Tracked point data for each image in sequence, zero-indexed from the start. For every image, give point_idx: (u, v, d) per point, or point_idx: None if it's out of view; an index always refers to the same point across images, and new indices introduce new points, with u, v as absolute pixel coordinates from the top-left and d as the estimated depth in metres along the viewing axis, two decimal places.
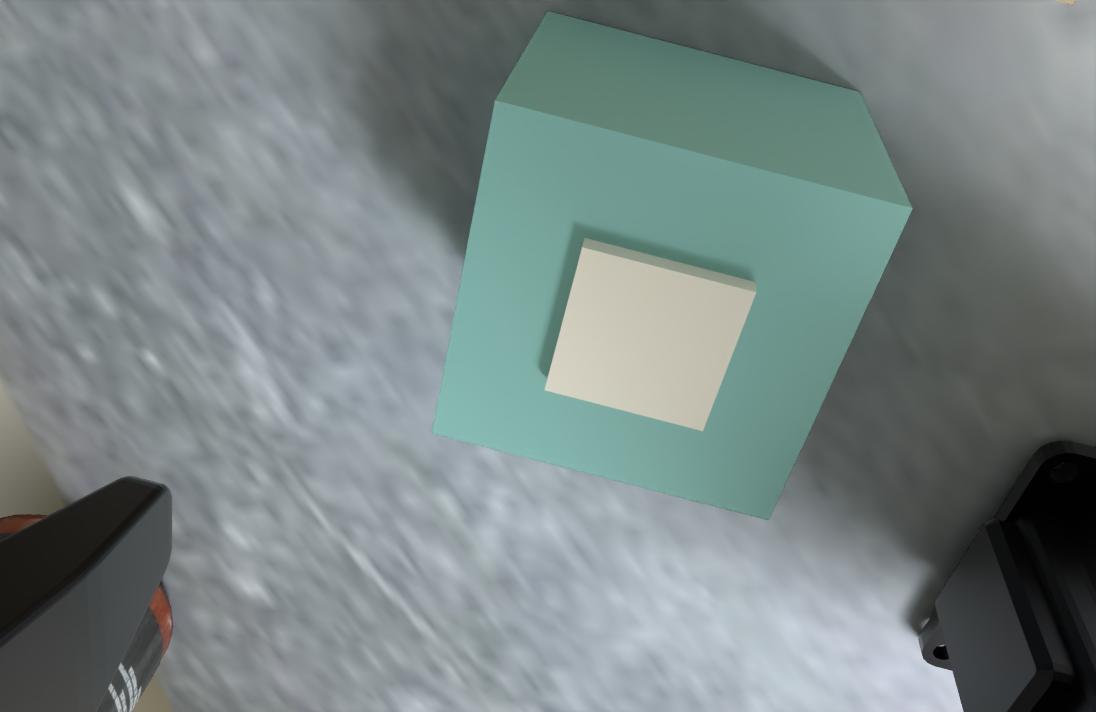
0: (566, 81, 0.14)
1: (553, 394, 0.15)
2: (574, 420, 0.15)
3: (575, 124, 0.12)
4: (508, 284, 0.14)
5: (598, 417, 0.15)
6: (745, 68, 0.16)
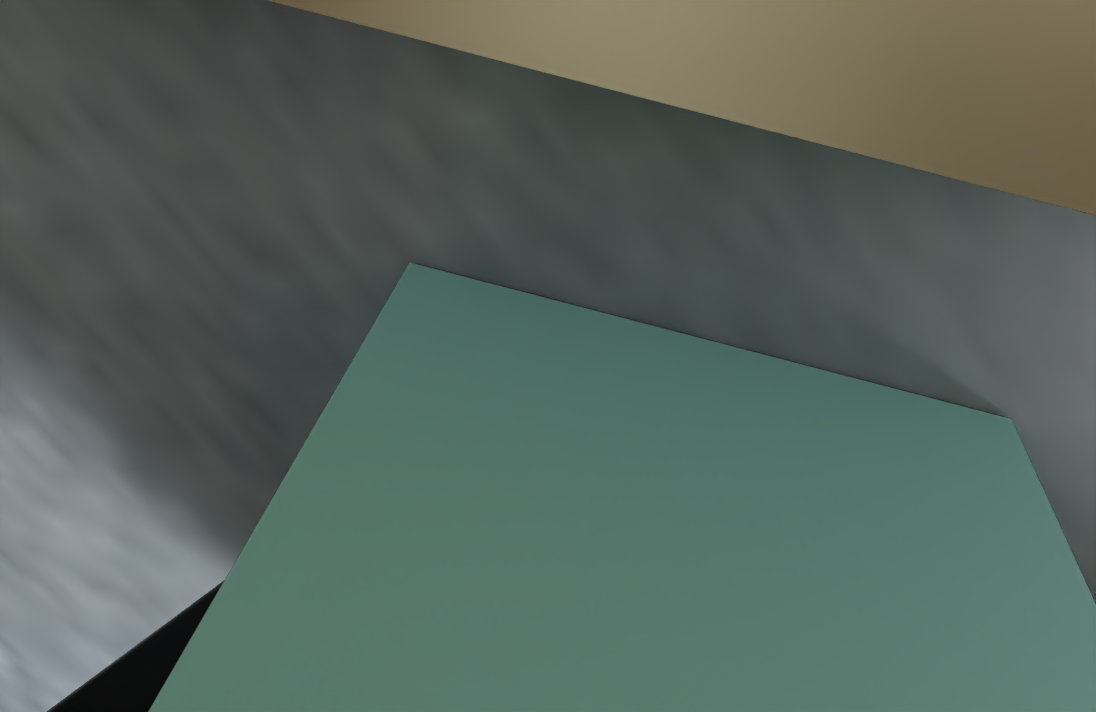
0: (381, 562, 0.06)
1: None
2: None
3: None
4: None
5: None
6: (791, 382, 0.08)
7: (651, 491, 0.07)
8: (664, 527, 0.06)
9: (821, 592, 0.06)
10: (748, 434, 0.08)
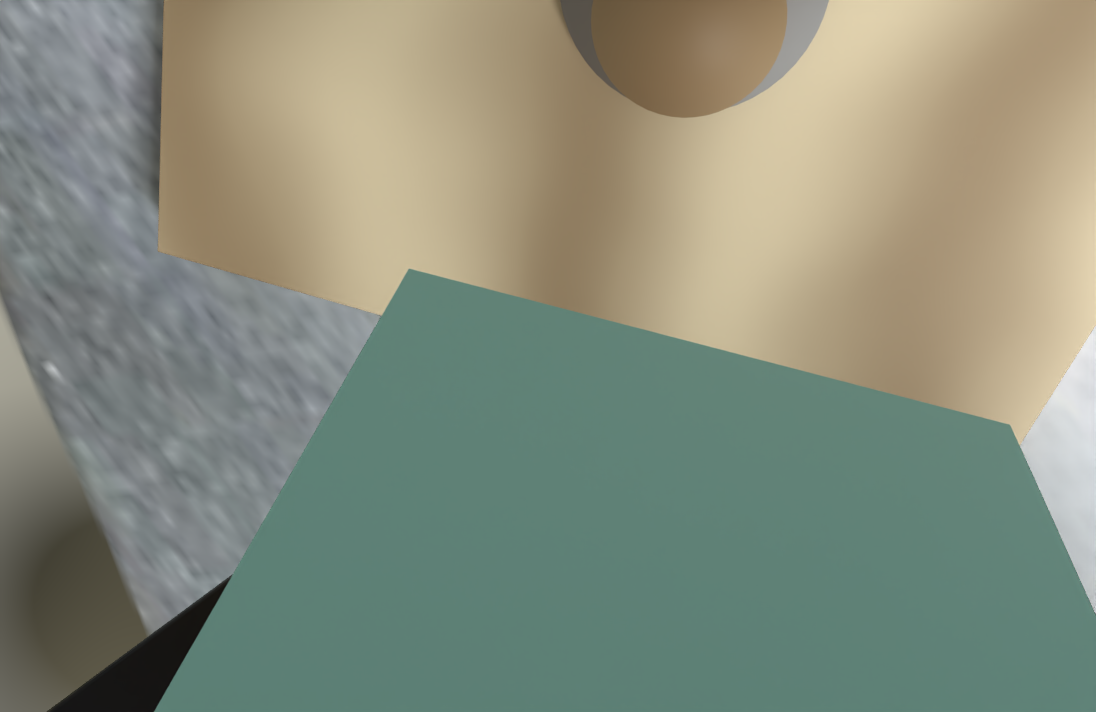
0: (380, 570, 0.06)
1: None
2: None
3: None
4: None
5: None
6: (790, 389, 0.08)
7: (650, 498, 0.07)
8: (663, 535, 0.06)
9: (819, 600, 0.06)
10: (747, 441, 0.08)
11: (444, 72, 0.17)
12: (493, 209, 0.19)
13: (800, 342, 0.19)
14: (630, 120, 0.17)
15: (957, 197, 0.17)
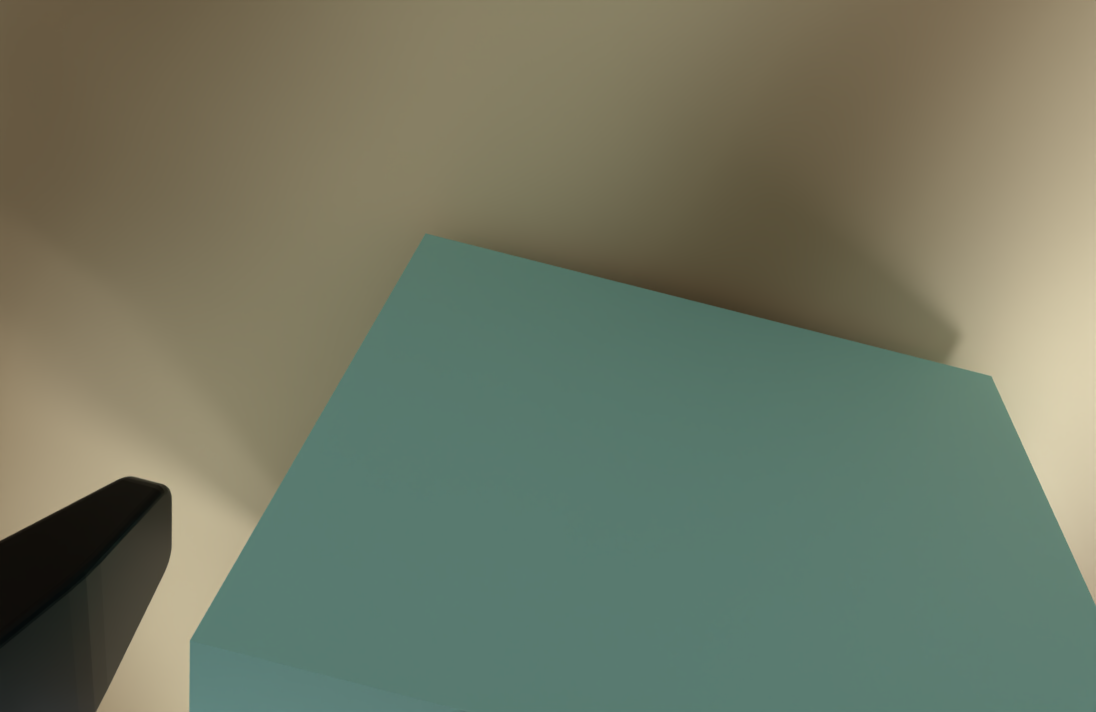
0: (408, 491, 0.06)
1: None
2: None
3: (392, 692, 0.05)
4: None
5: None
6: (783, 342, 0.09)
7: (653, 435, 0.07)
8: (665, 465, 0.07)
9: (809, 522, 0.07)
10: (743, 387, 0.08)
11: None
12: None
13: None
14: None
15: None
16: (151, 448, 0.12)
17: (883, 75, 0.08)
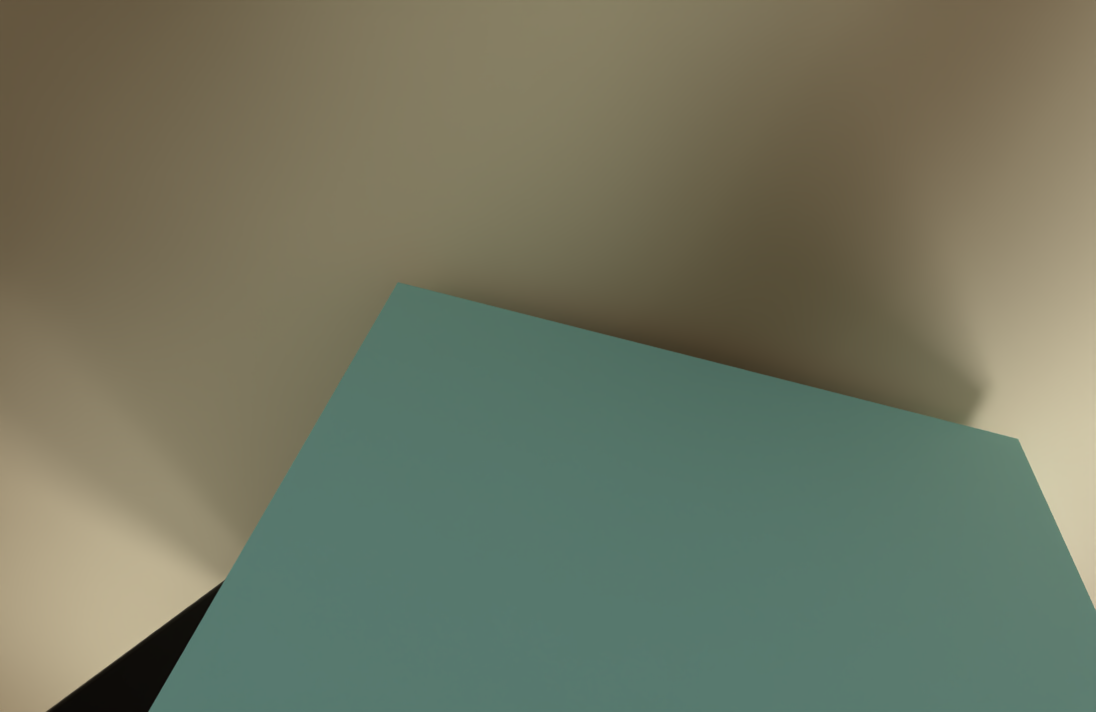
0: (362, 604, 0.05)
1: None
2: None
3: None
4: None
5: None
6: (791, 405, 0.08)
7: (645, 522, 0.06)
8: (658, 561, 0.06)
9: (822, 629, 0.06)
10: (746, 460, 0.07)
11: None
12: None
13: None
14: None
15: None
16: (109, 503, 0.11)
17: (901, 114, 0.07)
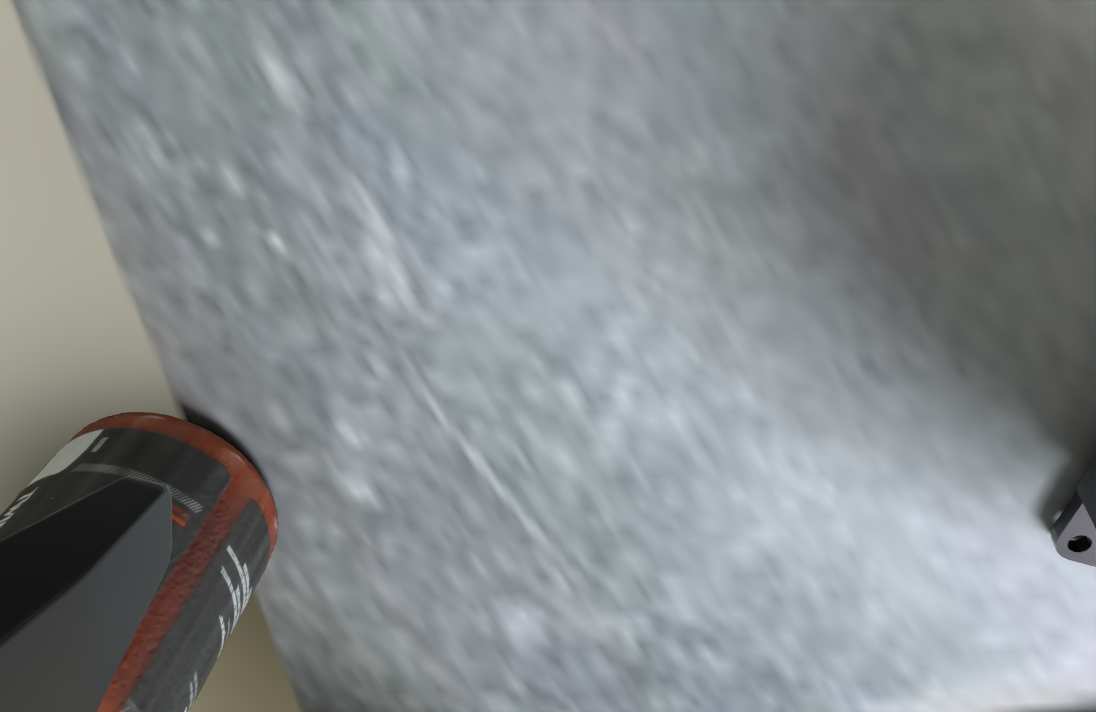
0: None
1: None
2: None
3: None
4: None
5: None
6: None
7: None
8: None
9: None
10: None
11: None
12: None
13: None
14: None
15: None
16: None
17: None
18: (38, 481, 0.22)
